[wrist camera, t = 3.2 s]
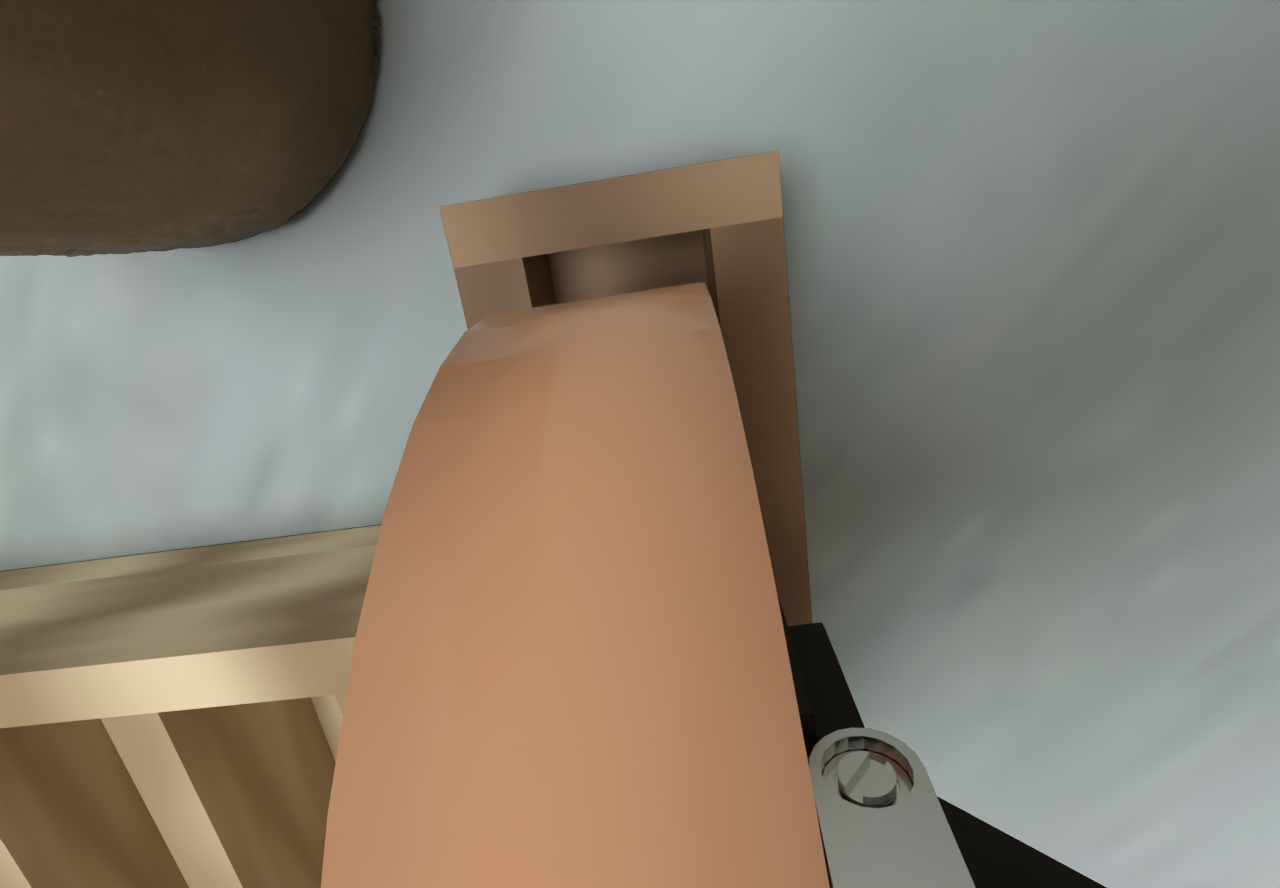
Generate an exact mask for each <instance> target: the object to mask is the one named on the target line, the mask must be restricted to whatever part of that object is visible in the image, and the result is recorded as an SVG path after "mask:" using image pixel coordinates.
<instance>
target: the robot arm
mask: <svg viewBox="0 0 1280 888" xmlns="http://www.w3.org/2000/svg"><path fill="white" fill-rule="evenodd" d="M776 591H777V590H776ZM777 596H778V593H777ZM778 601H779V606H780V612H781V617H782V623H783V628H784V634H785V639H786V645H787V650H788V656H789V661H790V667H791V672H792V677H793V683H794V688H795V694H796V699H797V705H798V710H799V716H800V721H801V727H802V732H803V738H804V743H805V749H806V754H807V759H808V765H809V770H810V776H811V782H812V788H813V794H814V799H815V805H816V811H817V817H818V823H819V829H820V835H821V840H822V846H823V852H824V858H825V864H826V870H827V876H828V881H829V887H830V888H1106V887H1104V886H1102V885H1101V884H1099V883H1097V882H1095V881H1093V880H1091V879H1090V878H1088V877H1086V876H1084V875H1082V874H1080V873H1078V872H1077V871H1075V870H1073V869H1071V868H1069V867H1067V866H1065V865H1064V864H1062V863H1060V862H1058V861H1056V860H1054V859H1052V858H1051V857H1049V856H1047V855H1045V854H1043V853H1041V852H1039V851H1038V850H1036V849H1034V848H1032V847H1030V846H1028V845H1026V844H1025V843H1023V842H1021V841H1019V840H1017V839H1015V838H1013V837H1012V836H1010V835H1008V834H1006V833H1004V832H1002V831H1000V830H999V829H997V828H995V827H993V826H991V825H989V824H987V823H986V822H984V821H982V820H980V819H978V818H976V817H974V816H973V815H971V814H969V813H967V812H965V811H963V810H961V809H960V808H958V807H956V806H954V805H952V804H950V803H948V802H947V801H945V800H943V799H941V798H939V797H937V795H936V793H935V791H934V788H933V786H932V784H931V781H930V779H929V776H928V774H927V772H926V769H925V767H924V765H923V764H922V762H921V761H920V759H919V758H918V756H917V754H916V753H915V752H914V751H913V750H912V749H910V748H909V747H908V746H907V745H906V744H905V743H904V742H902V741H901V740H899V739H897V738H895V737H893V736H891V735H889V734H887V733H884V732H881V731H877V730H874V729H870V728H865V727H864V725H863V722H862V720H861V717H860V715H859V712H858V710H857V707H856V705H855V702H854V700H853V697H852V695H851V692H850V690H849V687H848V685H847V682H846V680H845V677H844V675H843V672H842V670H841V667H840V665H839V662H838V660H837V657H836V655H835V652H834V650H833V647H832V645H831V642H830V640H829V637H828V635H827V632H826V630H825V628H824V626H823V624H822V623H811V624H802V625H792V626H788V625H787V622H786V619H785V616H784V612H783V609H782V606H781V603H780V600H779V596H778Z"/></svg>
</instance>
